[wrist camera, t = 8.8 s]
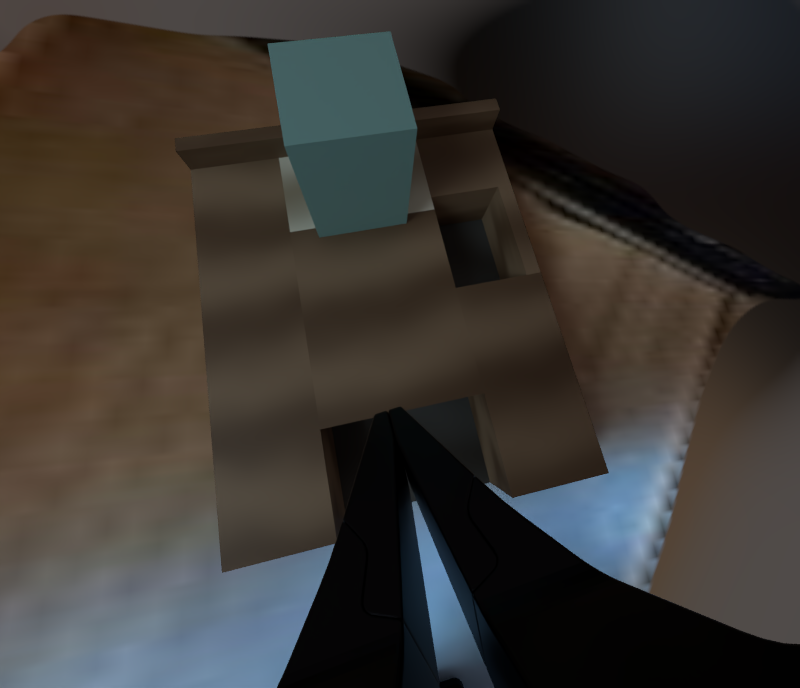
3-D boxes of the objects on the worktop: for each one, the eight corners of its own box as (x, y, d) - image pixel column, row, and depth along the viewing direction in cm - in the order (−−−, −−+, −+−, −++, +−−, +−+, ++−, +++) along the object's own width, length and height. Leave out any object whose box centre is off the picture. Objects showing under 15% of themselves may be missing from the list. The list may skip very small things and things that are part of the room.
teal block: (406, 223, 20) (417, 128, 13) (319, 237, 20) (284, 146, 13) (388, 151, 21) (390, 31, 15) (306, 163, 21) (267, 43, 14)
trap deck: (567, 461, 21) (629, 478, 16) (255, 539, 19) (204, 590, 14) (473, 161, 26) (495, 98, 21) (221, 198, 24) (175, 138, 19)
